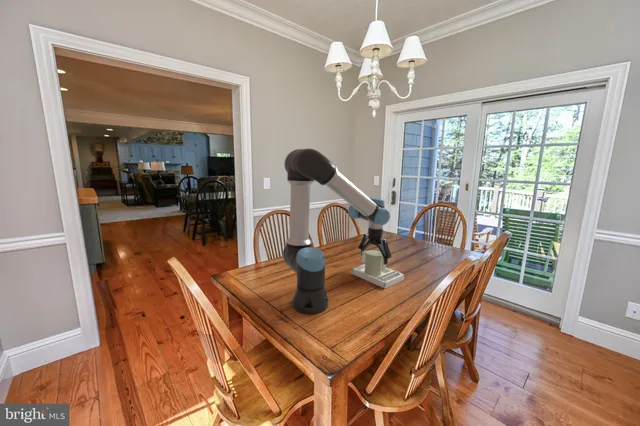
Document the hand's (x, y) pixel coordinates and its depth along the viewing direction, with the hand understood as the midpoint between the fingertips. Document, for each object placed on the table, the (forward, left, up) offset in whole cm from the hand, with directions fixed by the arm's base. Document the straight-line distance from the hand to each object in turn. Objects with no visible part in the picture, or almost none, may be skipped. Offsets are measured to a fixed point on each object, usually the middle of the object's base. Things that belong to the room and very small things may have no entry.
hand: (373, 265), depth 141 cm
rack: (0, -3, -5) cm, 6 cm away
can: (0, 0, -4) cm, 4 cm away
